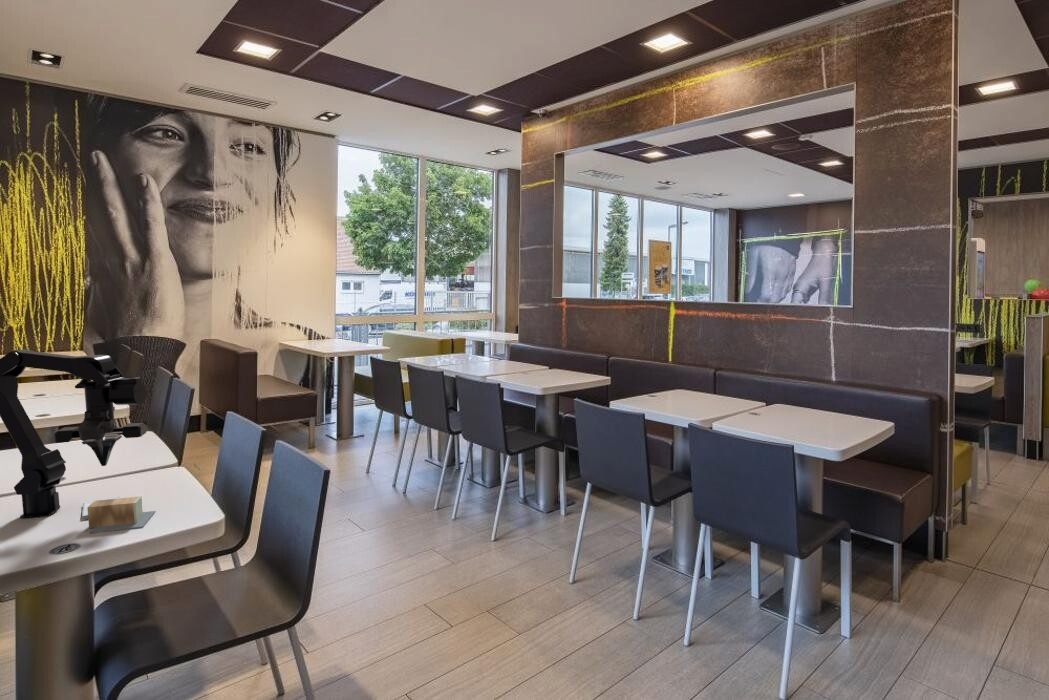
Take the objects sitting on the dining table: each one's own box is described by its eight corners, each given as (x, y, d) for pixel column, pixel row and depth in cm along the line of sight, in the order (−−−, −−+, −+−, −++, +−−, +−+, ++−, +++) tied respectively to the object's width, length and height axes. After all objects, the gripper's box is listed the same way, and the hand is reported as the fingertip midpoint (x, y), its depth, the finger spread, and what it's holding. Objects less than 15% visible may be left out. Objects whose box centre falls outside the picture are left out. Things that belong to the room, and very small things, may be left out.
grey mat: (89, 533, 145) (89, 531, 145) (105, 516, 156) (105, 515, 156) (143, 527, 148) (143, 526, 148) (155, 511, 159) (155, 510, 159)
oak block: (87, 507, 147) (135, 502, 150) (94, 500, 152) (141, 496, 155) (89, 527, 148) (137, 522, 151) (96, 520, 153) (142, 515, 156)
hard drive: (121, 509, 158) (120, 496, 168) (81, 516, 154) (83, 501, 164) (121, 515, 158) (120, 502, 169) (82, 522, 154) (83, 508, 164)
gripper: (41, 413, 147) (47, 478, 148) (132, 408, 152) (136, 470, 154) (61, 405, 157) (66, 465, 159) (145, 400, 163) (149, 459, 164)
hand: (104, 465), depth 159 cm, fingers closed
